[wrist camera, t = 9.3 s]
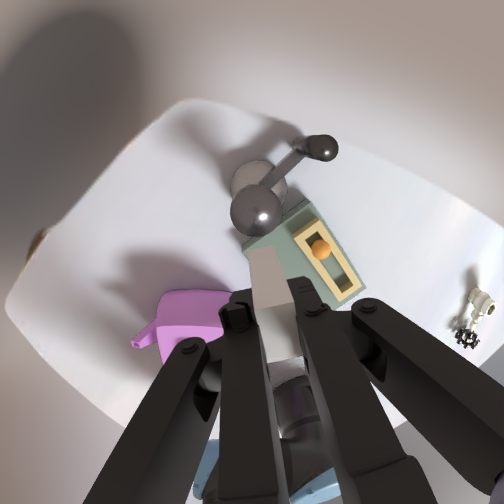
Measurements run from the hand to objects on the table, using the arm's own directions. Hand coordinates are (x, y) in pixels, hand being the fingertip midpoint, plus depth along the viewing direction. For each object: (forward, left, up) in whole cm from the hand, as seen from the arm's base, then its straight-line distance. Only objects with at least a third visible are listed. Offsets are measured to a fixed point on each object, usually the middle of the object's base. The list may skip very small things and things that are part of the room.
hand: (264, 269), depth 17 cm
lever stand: (-13, -1, -22) cm, 25 cm away
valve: (-46, -24, -22) cm, 57 cm away
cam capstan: (+1, -4, -22) cm, 22 cm away
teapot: (-10, +17, -22) cm, 30 cm away
